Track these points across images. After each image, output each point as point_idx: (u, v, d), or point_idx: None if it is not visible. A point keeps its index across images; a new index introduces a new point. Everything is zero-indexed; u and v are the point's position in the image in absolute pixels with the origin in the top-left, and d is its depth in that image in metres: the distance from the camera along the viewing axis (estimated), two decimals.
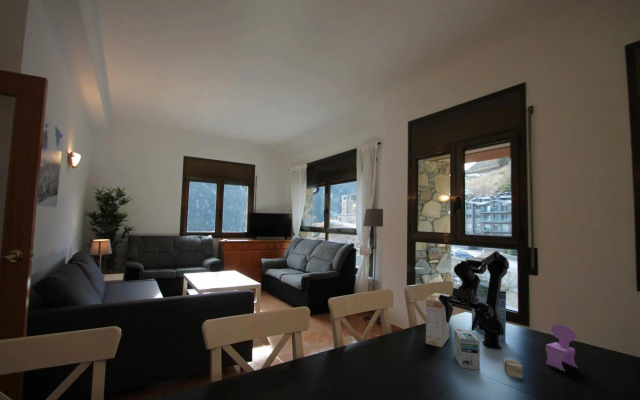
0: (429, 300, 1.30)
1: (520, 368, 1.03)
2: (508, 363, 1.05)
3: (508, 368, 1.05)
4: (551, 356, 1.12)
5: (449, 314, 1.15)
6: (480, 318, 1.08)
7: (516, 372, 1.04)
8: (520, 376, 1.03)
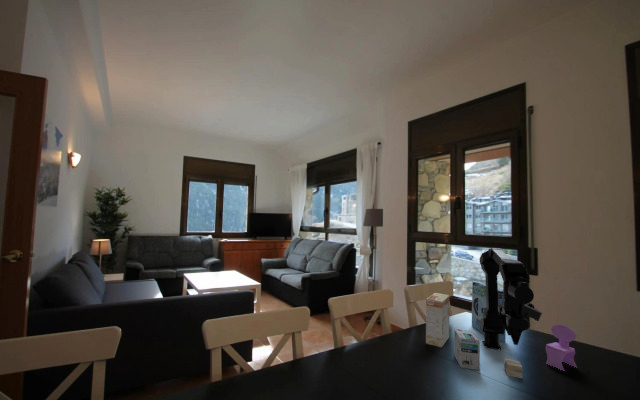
0: (429, 300, 1.30)
1: (520, 368, 1.03)
2: (508, 363, 1.05)
3: (508, 368, 1.05)
4: (551, 356, 1.12)
5: None
6: None
7: (516, 372, 1.04)
8: (520, 376, 1.03)
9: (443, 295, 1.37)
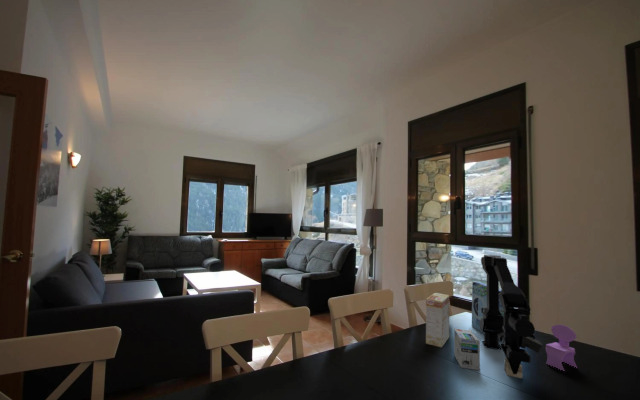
0: (429, 300, 1.30)
1: (520, 368, 1.03)
2: (508, 363, 1.05)
3: (508, 368, 1.05)
4: (551, 356, 1.12)
5: None
6: None
7: None
8: (520, 376, 1.03)
9: (443, 295, 1.37)
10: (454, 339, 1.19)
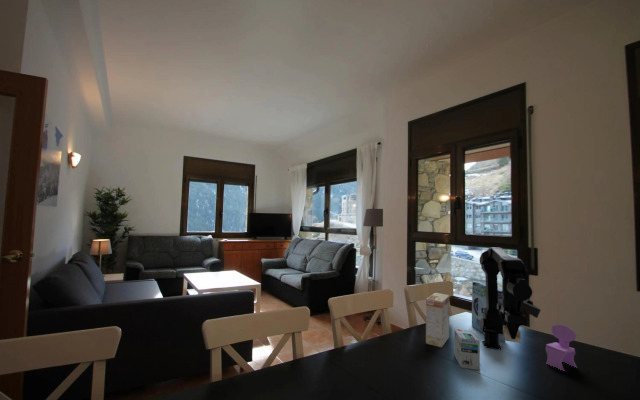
0: (429, 300, 1.30)
1: (518, 333, 1.04)
2: (507, 328, 1.06)
3: (507, 333, 1.05)
4: (551, 356, 1.12)
5: None
6: None
7: None
8: (518, 340, 1.04)
9: (443, 295, 1.37)
10: (454, 339, 1.19)
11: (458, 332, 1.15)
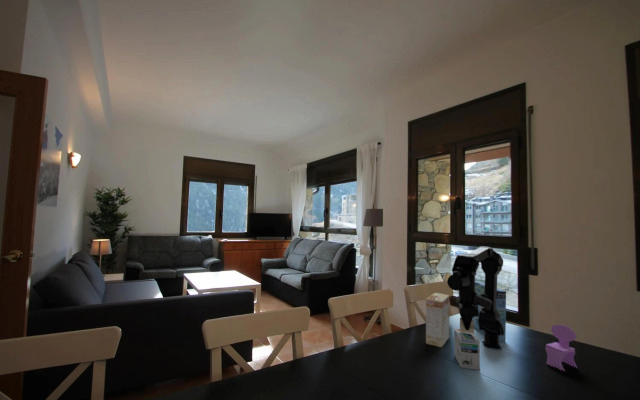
0: (429, 300, 1.30)
1: (472, 324, 1.11)
2: None
3: (461, 325, 1.13)
4: (551, 356, 1.12)
5: None
6: None
7: (469, 328, 1.12)
8: (472, 331, 1.11)
9: (443, 295, 1.37)
10: (454, 339, 1.19)
11: (458, 332, 1.15)
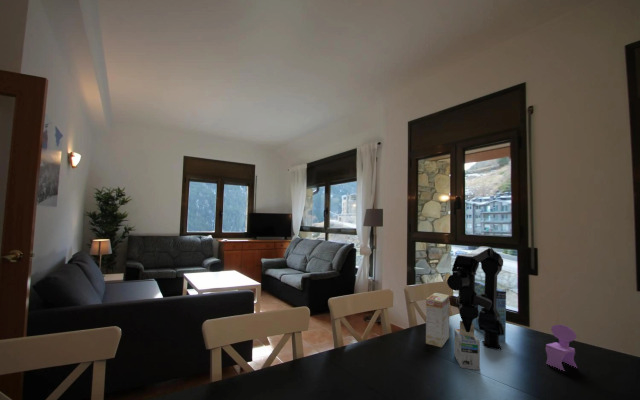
0: (429, 300, 1.30)
1: (472, 327, 1.11)
2: (462, 324, 1.13)
3: (461, 328, 1.12)
4: (551, 356, 1.12)
5: None
6: None
7: None
8: (472, 335, 1.11)
9: (443, 295, 1.37)
10: None
11: (458, 332, 1.15)
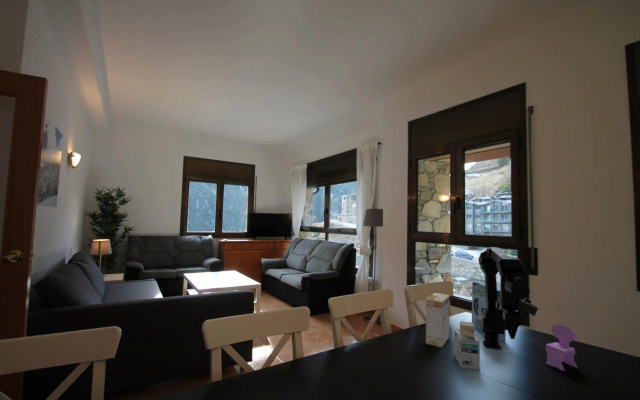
0: (429, 300, 1.30)
1: (472, 328, 1.11)
2: (462, 324, 1.13)
3: (462, 328, 1.12)
4: (551, 356, 1.12)
5: None
6: None
7: (469, 332, 1.11)
8: (472, 335, 1.11)
9: (443, 295, 1.37)
10: None
11: (458, 332, 1.15)
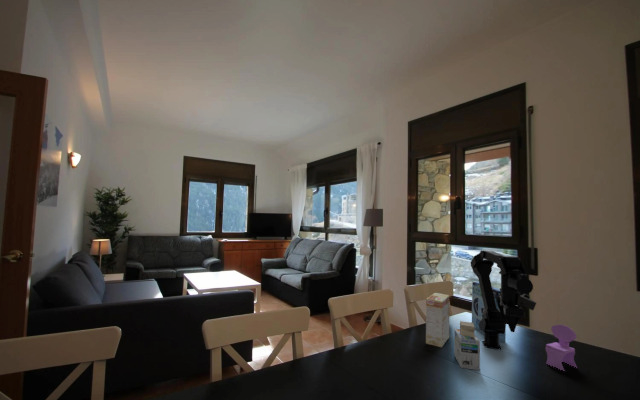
0: (429, 300, 1.30)
1: (472, 328, 1.11)
2: (462, 324, 1.13)
3: (462, 328, 1.12)
4: (551, 356, 1.12)
5: None
6: None
7: (469, 332, 1.11)
8: (472, 335, 1.11)
9: (443, 295, 1.37)
10: None
11: (458, 332, 1.15)
